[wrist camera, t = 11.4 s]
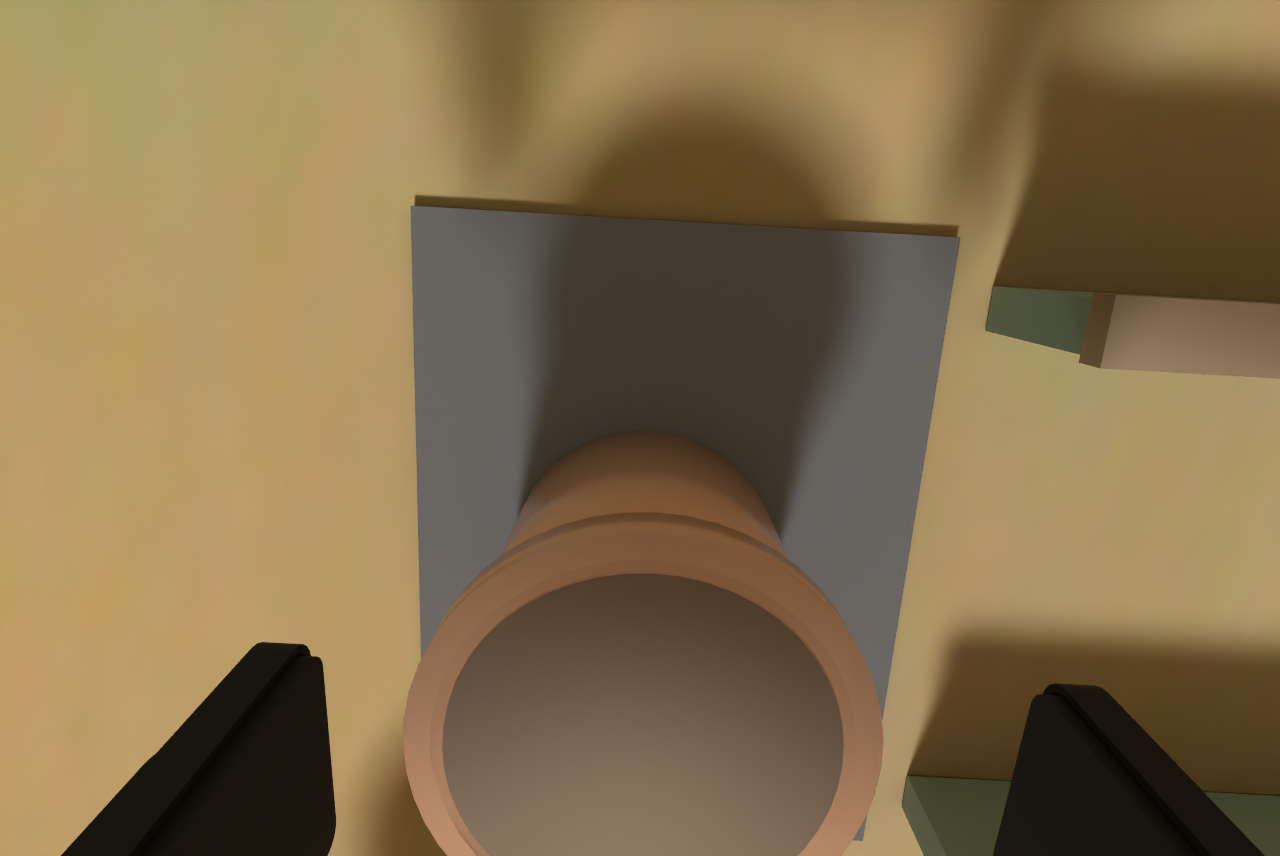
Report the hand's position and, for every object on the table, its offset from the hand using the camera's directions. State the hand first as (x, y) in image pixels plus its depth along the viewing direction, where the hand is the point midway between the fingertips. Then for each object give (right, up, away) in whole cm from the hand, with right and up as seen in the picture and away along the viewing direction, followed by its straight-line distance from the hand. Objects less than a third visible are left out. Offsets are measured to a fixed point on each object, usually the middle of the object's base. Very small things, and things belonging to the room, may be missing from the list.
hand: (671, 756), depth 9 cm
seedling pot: (0, +1, +8) cm, 8 cm away
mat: (0, +1, +8) cm, 8 cm away
